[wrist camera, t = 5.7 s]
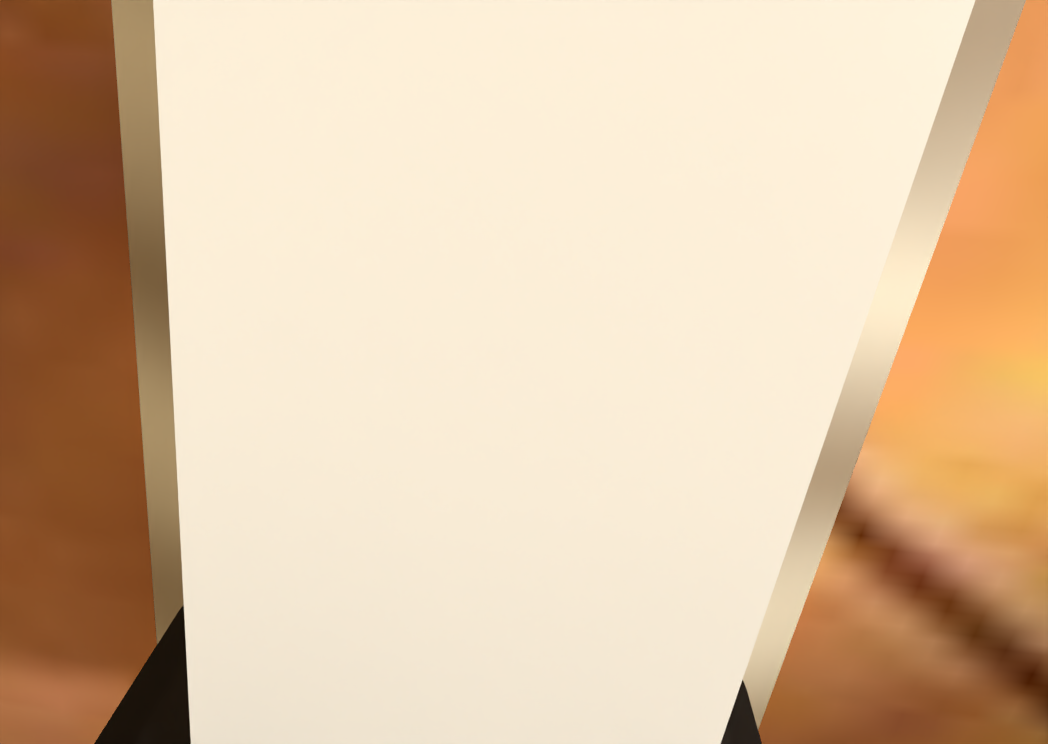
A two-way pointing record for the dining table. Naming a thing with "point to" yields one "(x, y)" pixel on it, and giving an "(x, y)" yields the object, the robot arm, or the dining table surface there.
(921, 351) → the dining table surface
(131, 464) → the dining table surface
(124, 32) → the base
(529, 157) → the white teal block
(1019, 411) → the dining table surface
